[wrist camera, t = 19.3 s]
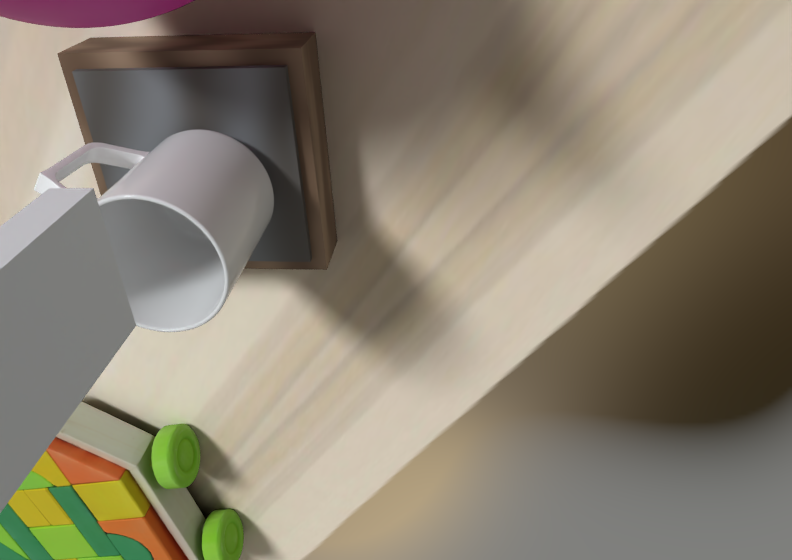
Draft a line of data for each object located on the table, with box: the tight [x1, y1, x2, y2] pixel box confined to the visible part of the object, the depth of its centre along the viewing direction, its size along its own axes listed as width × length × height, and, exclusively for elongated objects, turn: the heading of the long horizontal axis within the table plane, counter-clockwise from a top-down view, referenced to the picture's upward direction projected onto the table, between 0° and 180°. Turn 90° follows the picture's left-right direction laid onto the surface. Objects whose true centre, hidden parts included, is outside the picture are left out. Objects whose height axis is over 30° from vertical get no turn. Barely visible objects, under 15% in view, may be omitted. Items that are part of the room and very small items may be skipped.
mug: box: [34, 129, 274, 332], centre depth 41 cm, size 12×9×11 cm
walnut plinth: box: [58, 32, 337, 270], centre depth 48 cm, size 16×16×5 cm
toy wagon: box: [0, 401, 244, 560], centre depth 73 cm, size 29×38×7 cm
